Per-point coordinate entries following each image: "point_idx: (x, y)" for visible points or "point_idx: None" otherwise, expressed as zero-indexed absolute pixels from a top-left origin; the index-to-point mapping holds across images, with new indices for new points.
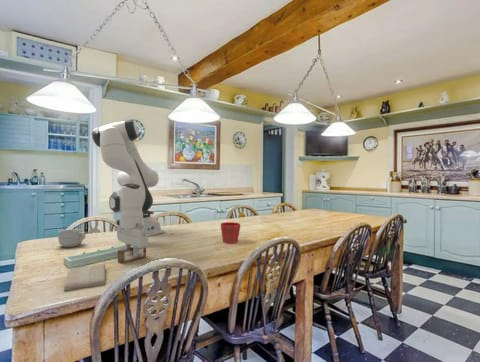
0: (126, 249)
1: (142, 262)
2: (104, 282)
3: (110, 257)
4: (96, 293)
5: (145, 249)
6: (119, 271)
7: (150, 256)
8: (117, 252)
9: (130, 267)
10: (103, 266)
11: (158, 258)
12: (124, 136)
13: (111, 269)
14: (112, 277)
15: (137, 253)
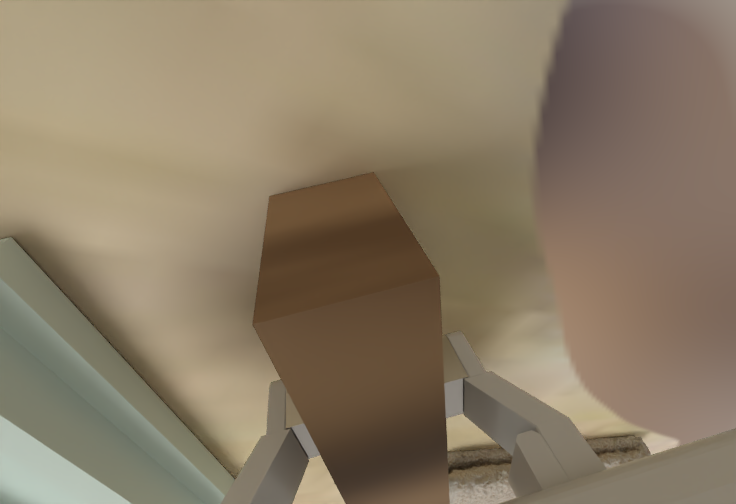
0: (401, 498)
1: (516, 255)
2: (645, 445)
3: (207, 468)
4: (673, 444)
5: (415, 246)
6: (549, 398)
7: (357, 91)
8: (125, 470)
9: (543, 348)
10: (501, 489)
11: (554, 15)
12: None
13: (476, 429)
14: (596, 419)
15: (472, 353)
